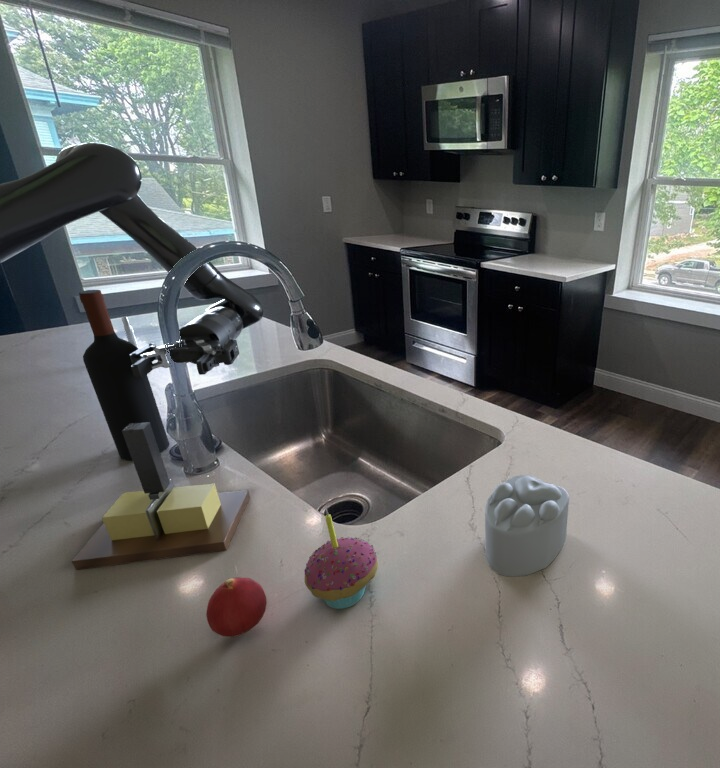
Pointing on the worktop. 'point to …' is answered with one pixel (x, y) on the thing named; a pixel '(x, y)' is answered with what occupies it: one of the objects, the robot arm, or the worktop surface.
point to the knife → (149, 469)
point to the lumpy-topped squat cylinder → (525, 525)
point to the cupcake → (340, 569)
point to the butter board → (166, 539)
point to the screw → (129, 331)
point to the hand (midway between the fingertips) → (168, 370)
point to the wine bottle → (118, 378)
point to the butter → (163, 512)
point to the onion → (236, 607)
